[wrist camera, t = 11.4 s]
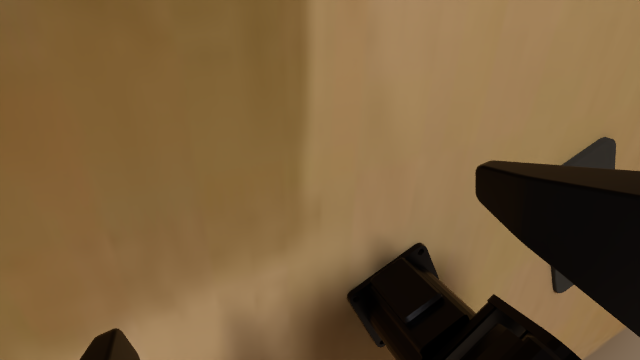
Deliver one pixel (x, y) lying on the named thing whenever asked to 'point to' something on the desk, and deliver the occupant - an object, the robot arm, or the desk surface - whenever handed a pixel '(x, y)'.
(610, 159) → the phone
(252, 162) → the desk surface
